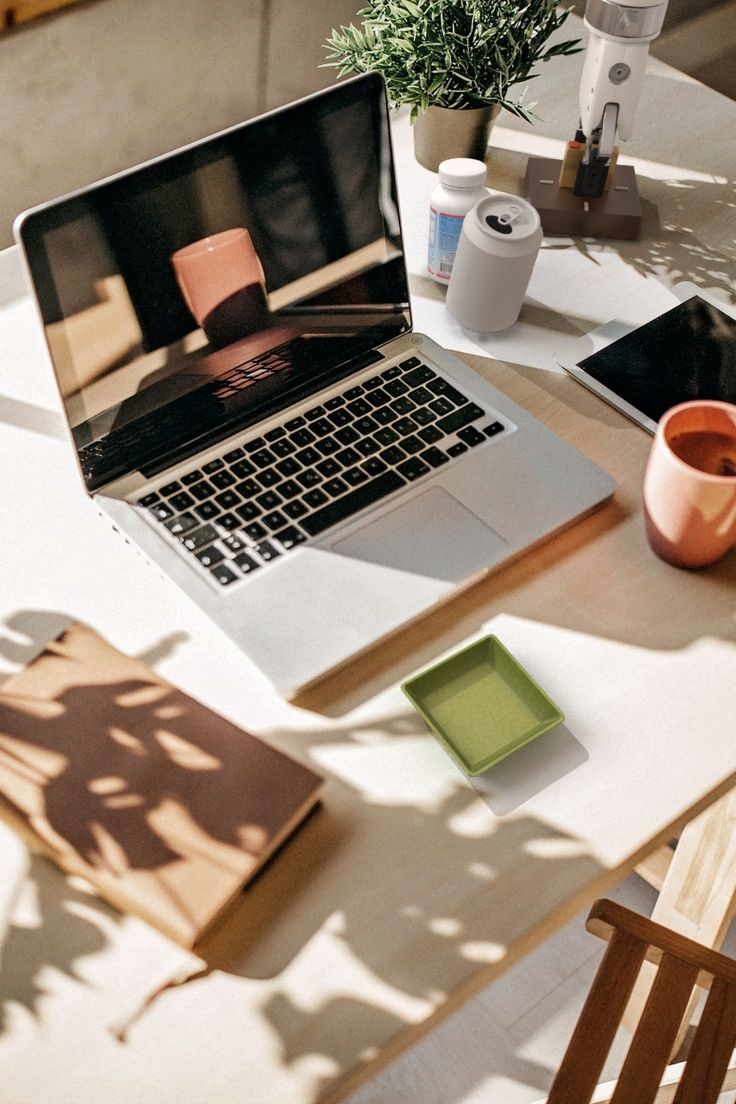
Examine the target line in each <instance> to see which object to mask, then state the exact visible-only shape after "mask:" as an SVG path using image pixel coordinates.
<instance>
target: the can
mask: <svg viewBox="0 0 736 1104" xmlns="http://www.w3.org/2000/svg"><path fill="white" fill-rule="evenodd" d="M540 224H541V222H540V216H539V214H538V213H537V211H536V209H535V208H534V207H533V206H532V205H530V204H529V203H528V202H526V201H525V199H523V198H521V197H519V196H515V195H512V194H504V193H495V194H490V195H489V196H486V197H484V198H482V199H480V200H479V201H478V202H477V203H476V204H475V207H474V208H473V209H471V210H470V211H469V212H468V213H467V214H466V217H465V219H464V221H463V225H462V230H461V234H460V238H459V243H458V247H457V251H456V256H455V260H454V264H453V269H452V273H451V277H450V281H449V285H447V291H446V295H445V306H446V308H447V310H448V313H449V315H451V317H452V318H453V319H454V320H455V321H456V322H457V323H459V324H460V325H462V326H463V327H465V328H466V329H468V330H471V331H474V332H477V333H487V334H488V333H495V332H501V331H503V330H506V329H508V328H509V327H512V325H513V324H515V322H517V321H518V318H519V314H520V312H521V309H522V307H523V302H524V299H525V296H526V293H527V291H528V287H529V284H530V280H531V278H532V275H533V271H534V268H535V265H536V262H537V258H538V255H539V252H540V249H541V246H542V243H543V239H544V233H543V231H542V227H541V226H540Z"/></svg>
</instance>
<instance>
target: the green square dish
mask: <svg viewBox="0 0 736 1104" xmlns="http://www.w3.org/2000/svg"><path fill="white" fill-rule="evenodd" d="M400 690H401V692H402V693H403V694H404V696H405V697H406V698H407V700H408V701H409V702H410V703H411V704H412V706H413V707H414V708H415V710H416V711H417V712H418V714H419V715H420V716H421V717H422V719H423V720H424V721H425V723H426V724H427V725H428V727H430V729H431V730H432V731H433V733H434V734H435V735H436V736H437V738H438V739H439V741H440V742H441V743H442V744H443V745H444V747H445V748H446V749H447V751H448V752H449V753H450V755H452V758H454V759H455V761H456V763H458V765H459V766H460V767H461V768H462V769H463V771H464V772H465V774H466V775H467V776H469V777H470V778H477V777H479V776H480V775H482V774H483V773H485V772H487V771H488V770H490V769H491V768H493V767H495V766H496V765H497V764H499V763H501V762H502V761H504V760H505V759H507V758H509V757H510V756H512V755H513V754H515V753H516V752H518V751H519V750H521V749H522V748H524V747H526V746H527V745H529V744H531V743H533V741H535V740H537V739H539V738H540V737H542V736H543V735H545V734H546V733H548V732H549V731H551V730H552V729H554V728H556V727H558V726H559V725H561V724H562V723H564V722H565V720H566V716H565V714H564V713H563V711H562V710H561V709H560V708H559V706H558V705H557V704H556V703H555V702H554V701H553V699H551V697H550V696H549V695H548V694H547V693H546V692H545V690H543V688H542V687H541V686H540V685H539V684H538V683H537V681H535V679H534V678H533V677H532V675H530V674H529V673H528V671H527V670H526V669H525V667H523V666H522V664H521V663H520V662H519V661H518V660H517V659H516V658H515V657H514V655H513V654H512V653H511V651H509V649H507V647H506V646H505V644H503V642H501V640H500V639H499V638H498V636H496V635H495V634H494V633H490V634H486V635H485V636H483V637H481V638H479V639H477V640H476V641H474V642H472V643H471V644H468V645H467V646H464V647H463V648H462V649H460V650H458V651H457V652H456V653H453V654H452V655H450V656H448V657H446V658H445V659H443V660H441V661H440V662H438V663H436V664H434V665H432V666H431V667H429V668H428V669H425V670H424V671H422V672H420V673H418V674H416V675H415V676H413V677H411V678H409V679H407V680H406V681H404V682H402V683H401V685H400Z"/></svg>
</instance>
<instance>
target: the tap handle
mask: <svg viewBox="0 0 736 1104" xmlns="http://www.w3.org/2000/svg"><path fill="white" fill-rule="evenodd" d="M597 146H598V145H595V144H592V148H591V151H592V149H593V148H597ZM584 149H585V144H583V143H579V142H576V141H574V140H569V141H568V142H566V145H565V150H564V154H563V159H562V160H563V163H562V168H561V173H560V177H559V186H560V187H569V188H573V186H574V182H575V178H576V173H577V169H578V164H579V160H580V159H582V160H583V155H584ZM619 155H620V151H619V146H618V145H614V146H613V152H612V157H611V162H610V168H609V172H608V176H607V180H606V184H605V187H604V190H605V191H609V190H610V186H611V183H612V179H613V175H614V171H615V167H616V164H617V163H618V159H619Z"/></svg>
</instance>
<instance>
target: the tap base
mask: <svg viewBox="0 0 736 1104" xmlns="http://www.w3.org/2000/svg"><path fill="white" fill-rule="evenodd" d="M562 163H563V159H557V158H556V159H555V158H544V157H532V156H528V159H527V164H526V169H525V175H524V178H523V179H524V180H523V182H524V183H523V184H524V200H525V201H526V202H528V203H529V204H530V205H532V206H533V207H534V208H535V209H536V211H537V213H538V214H539V216H540V222H541V224H540V226H541V227H542V231H543V234H544V233H545V234H557V235H566V236H567V235H569V236H580V237H593V238H603V239H604V238H605V239H606V238H607V239H615V240H628V241H636V240H637V236H638V233H639V229H640V227H641V223H642V219H643V211H642V207H641V206H642V205H641V200H640V193H639V188H638V181H637V176H636V169H635V166H634V165H628V164H617V163H616V167H615V171H614V175H613V179H612V183H611V186H610V190H609V191H605V190H604V191H603V195H602V197H600V198H592V197H580V196H574V195H573V188H569V187H560V186H559V177H560V173H561V168H562Z"/></svg>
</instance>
